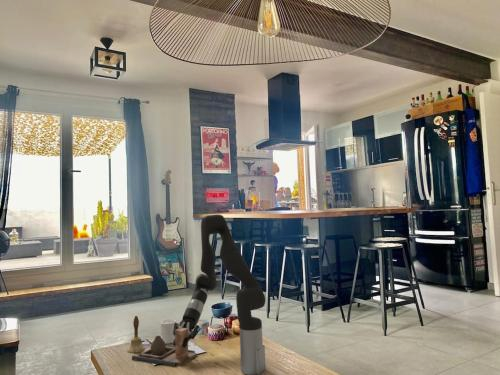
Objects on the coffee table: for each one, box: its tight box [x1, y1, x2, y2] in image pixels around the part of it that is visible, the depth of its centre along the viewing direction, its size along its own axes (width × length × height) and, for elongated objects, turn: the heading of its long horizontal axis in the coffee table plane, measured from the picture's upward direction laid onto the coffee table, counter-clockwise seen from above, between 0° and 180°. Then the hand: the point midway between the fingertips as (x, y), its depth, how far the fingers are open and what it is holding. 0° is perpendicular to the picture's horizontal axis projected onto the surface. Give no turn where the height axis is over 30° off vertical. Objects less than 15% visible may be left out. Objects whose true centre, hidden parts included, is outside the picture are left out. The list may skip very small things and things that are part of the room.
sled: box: [139, 327, 198, 366], centre depth 173 cm, size 23×12×13 cm, turn 64°
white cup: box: [160, 319, 177, 345], centre depth 195 cm, size 8×8×10 cm
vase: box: [150, 335, 167, 356], centre depth 175 cm, size 7×7×9 cm
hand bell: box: [127, 315, 146, 354], centre depth 185 cm, size 8×8×16 cm
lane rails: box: [131, 349, 196, 368], centre depth 173 cm, size 24×15×2 cm, turn 64°
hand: (179, 346), depth 168 cm, fingers closed on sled, 4 cm apart
